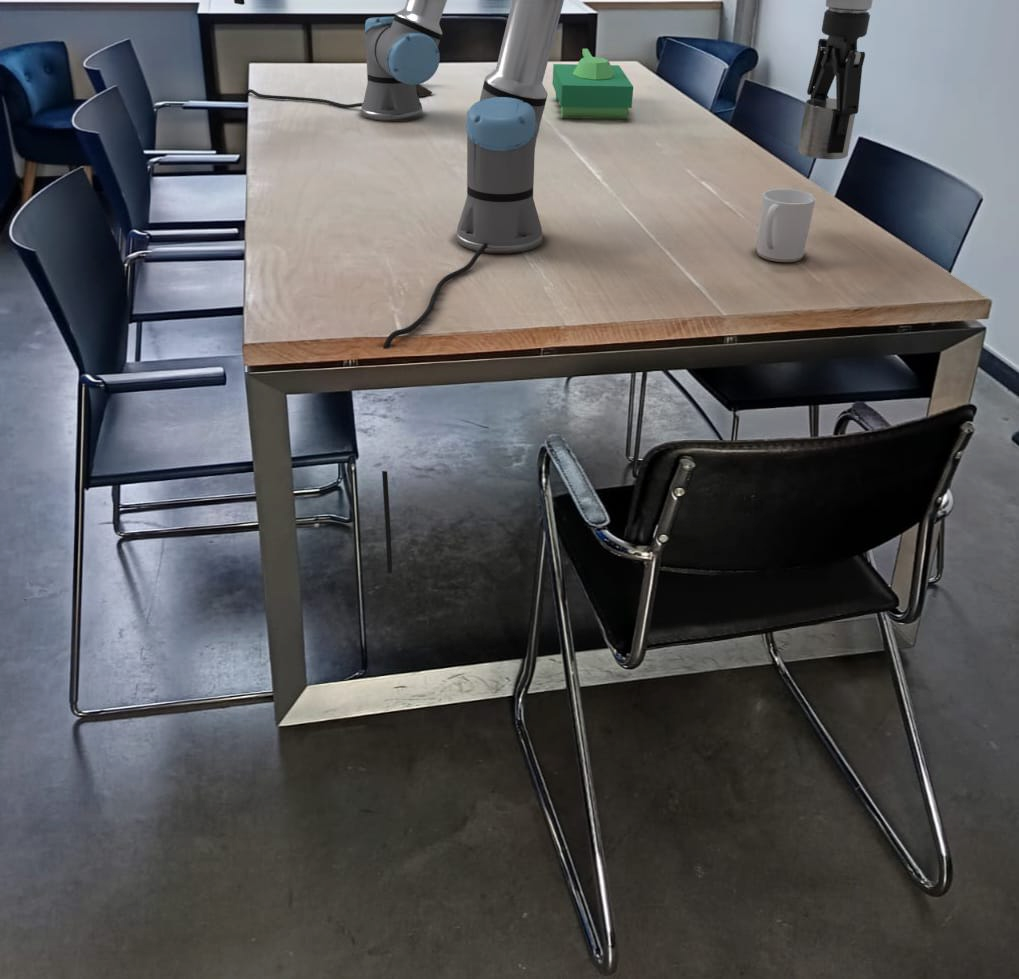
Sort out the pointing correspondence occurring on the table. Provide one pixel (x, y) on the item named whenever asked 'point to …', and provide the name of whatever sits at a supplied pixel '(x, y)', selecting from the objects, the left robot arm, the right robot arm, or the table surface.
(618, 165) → the table surface
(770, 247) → the mug
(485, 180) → the right robot arm
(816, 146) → the tin
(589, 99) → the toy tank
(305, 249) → the table surface
